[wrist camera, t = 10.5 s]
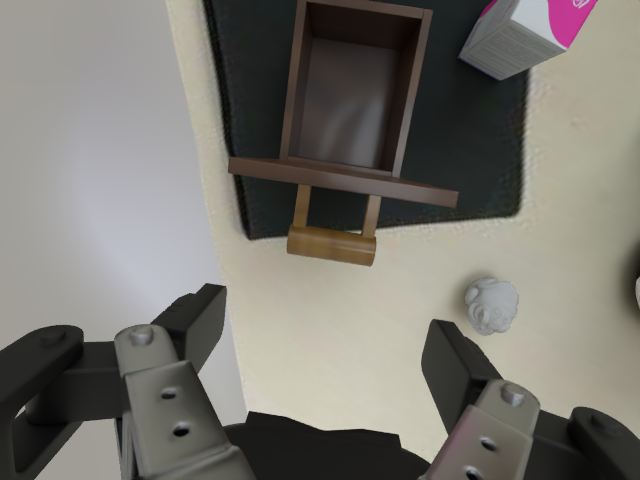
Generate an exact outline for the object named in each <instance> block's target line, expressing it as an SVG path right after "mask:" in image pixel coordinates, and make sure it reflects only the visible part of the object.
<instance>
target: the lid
mask: <svg viewBox="0 0 640 480" xmlns="http://www.w3.org/2000/svg"><path fill="white" fill-rule="evenodd" d="M228 173H232V174H238V175H245V176H251V177H258V178H264V179H271V180H277V181H284V182H290V183H297V184H299V185H298V192H297V200H296V207H295V215H294V222H293V223H292V224H291V226H290V229H289V234H288V240H287V253H288V254H293V255H300V256H306V257H313V258H319V259H325V260H332V261H338V262H345V263H351V264H358V265H364V266H372V264H373V261H374V257H375V251H376V237H375V236H374V235H375V230H376V225H377V219H378V214H379V209H380V204H381V198H382V197H387V198H394V199H400V200H407V201H413V202H420V203H426V204H433V205H439V206H446V207H452V208H455V207H456V203H457V199H458V195H459V192H456V191H452V190H448V189H444V188H440V187H435V186H431V185H427V184H423V183H419V182H415V181H411V180H407V179H403V178H398V177H392V176H385V175H379V174H372V173H366V172H359V171H353V170H346V169H340V168H333V167H327V166H320V165H314V164H307V163H301V162H294V161H288V160H281V159H265V158H243V157H229V165H228ZM311 186H316V187H323V188H329V189H336V190H342V191H348V192H355V193H361V194H368V199H367V204H366V210H365V215H364V221H363V226H362V232H361V234H357V233H351V232H344V231H338V230H332V229H325V228H319V227H312V226H306V221H307V214H308V207H309V200H310V193H311Z"/></svg>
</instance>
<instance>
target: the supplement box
mask: <svg viewBox="0 0 640 480" xmlns="http://www.w3.org/2000/svg"><path fill="white" fill-rule="evenodd" d="M597 1H598V0H493V1H492V2H491V3H490V4H489V5H488V6H487V7H486V8H484V10H483V11H482V13H481V14H480V16H479V18H478V20H477V21H476V23H475V25H474V27H473V29H472V31H471V32H470V34H469V36H468V38H467V40H466V42H465V44H464V45H463V47H462V49H461V51H460V53H459V55H458V57H457V58H458V59H460V60H461V61H463V62H465V63H466V64H468V65H470V66H472V67H474V68H476V69H477V70H479V71H481V72H483V73H484V74H486V75H488V76H489V77H491V78H493V79H495V80H496V81H501V80H503V79H505V78H508V77H510V76H512V75H514V74H517V73H519V72H521V71H523V70H526V69H528V68H530V67H532V66H534V65H537V64H539V63H541V62H543V61H546V60H548V59H550V58H552V57H555V56H557V55H559V54H561V53H564V52H566V51H567V50H568V48H569V46H570V45H571V43H572V42H573V40H574V38H575V37H576V35H577V33H578V32H579V30H580V28H581V27H582V25H583V23H584V22H585V20H586V19H587V17H588V15H589V14H590V12H591V10H592V9H593V7H594V5H595V4H596V2H597Z"/></svg>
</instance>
